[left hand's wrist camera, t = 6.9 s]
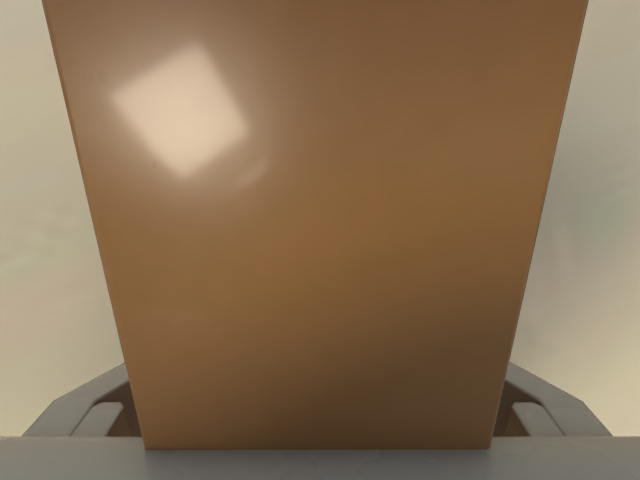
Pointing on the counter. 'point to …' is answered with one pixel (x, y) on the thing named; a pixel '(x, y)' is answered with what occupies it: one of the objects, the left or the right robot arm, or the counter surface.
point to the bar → (316, 207)
